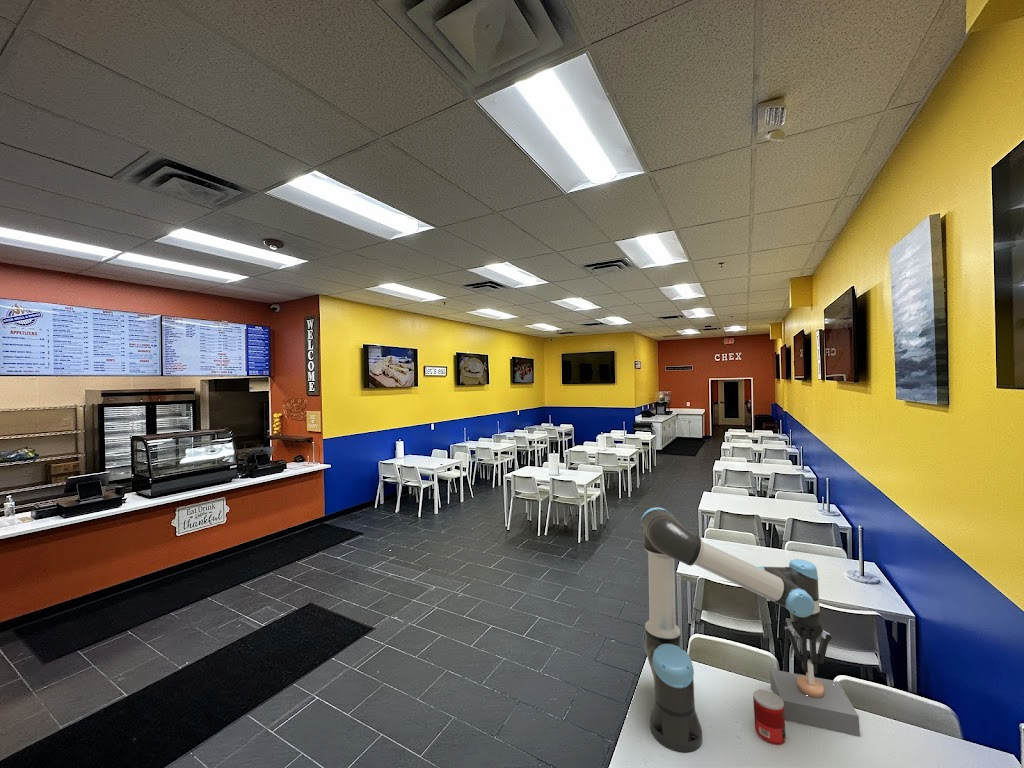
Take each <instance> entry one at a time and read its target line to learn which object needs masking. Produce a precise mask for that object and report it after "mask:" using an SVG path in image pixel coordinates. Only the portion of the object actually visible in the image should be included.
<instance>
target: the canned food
mask: <svg viewBox="0 0 1024 768" xmlns="http://www.w3.org/2000/svg"><path fill="white" fill-rule="evenodd" d="M752 695H753V696H752V697H753V715H754V717H753V719H754V728H755V732H756V734H757V736H758V737H759V738H760V739H762V740H763V741H765V742H766V743H769V744H771V745H776V746H777V745H779V746H780V745H783V744H784V743H785V742H786V735H787V734H786V720H785V715H784V703H783V700H782V699H781V698H780V697H779V696H778V695H776V694H775V693H773V691H770V690H767V689H757V690H755V691H754V692H753V694H752Z"/></svg>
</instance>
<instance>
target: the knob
mask: <svg viewBox="0 0 1024 768" xmlns="http://www.w3.org/2000/svg"><path fill="white" fill-rule="evenodd" d="M801 675H802V676H799V677H798V678H797V683H798V688H799V690H800V691H801V692H803V693H804V694H806V695H808V696H811V697H814V698H821V697H823V696H824V687H823V684H822V683H821V682H820V681H818V680H817V679H815V678H814V685H811V684H809V683H808V681H807V678H806V675H805V676H804V674H801Z"/></svg>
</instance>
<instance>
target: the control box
mask: <svg viewBox="0 0 1024 768" xmlns="http://www.w3.org/2000/svg"><path fill="white" fill-rule="evenodd" d="M802 675H804V674H800V673H794V672H788V671H782V670H777V669H772V668H770V669H769V677H770V687H771V692H773V693H775V694H776V695H778V696H779V697H780V698H781V699H782V700H783V703H784V715H785V722H791V723H796V724H800V725H805V726H810V727H815V728H819V729H823V730H827V731H833V732H838V733H843V734H847V735H852V736H854V737H855V736H856V737H861V734H860V733H861V731H860V716H859V715H858V713H857V711H856V709H855V708H854V705H853V704H852V702H851V700H850V699H849V697H848V696H847V694H846V692H845V690H844V689H843V687H842V685H841V683H840V682H839V680H838V681H837V680H832V679H827V678H826V679H825V678H821V677H817V676H814V678H815V679H817V680H818V681H820V682H821V683H822V684H823V687H824V696H823V697H821V698H814V697H811V696H806V694H804V693H803V692H801V691H800V690H799V688H798V683H797V678H798V677H799V676H802ZM804 676H806V674H805V675H804ZM834 681H835V682H834ZM833 684H834V685H833Z"/></svg>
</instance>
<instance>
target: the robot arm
mask: <svg viewBox="0 0 1024 768" xmlns="http://www.w3.org/2000/svg"><path fill="white" fill-rule="evenodd" d="M640 527H641V530H642V531H643V533H642V534H643V536H642V537H643V549H644V550H645V551H646V552H647V554H648V555H647V556H648V557H647V559H648V560H647V563H648V566H647V567H648V608H649V609H648V610H649V611H648V612H649V613H648V615H649V616H648V617H649V619H648V620H647V621H646V622H645V623H644V632H643V635H642V646H643V649H644V652H645V655H646V657H647V660H648V661H647V662H648V663H649V666H650V667H649V668H650V670H651V674H652V676H653V687H654V703H653V707H652V710H651V712H650V716H649V717H650V718H649V721H650V722H649V726H650V731H651V734H652V735H653V736H654V738H655V739H656V740H657V741H658V742H659V743H660V744H662V745H663V746H664V747H666V748H668V749H670V750H672V751H677V752H679V753H688V752H689V753H690V752H694V751H696V750H697V749H699V748H700V747H701V746H702V744H703V729H702V725H701V723H700V719H699V717H698V714H697V711H696V708H695V707H696V705H695V702H696V701H695V683H694V674H695V672H694V665H693V662H692V659H691V656H690V655H689V654H688V653H687V651H686V650H685V649H682V645H681V644H682V643H681V642H682V641H681V640H682V639H681V628H680V627H679V626H678V625H677V624H676V589H675V587H676V585H675V584H676V583H675V581H676V579H675V577H676V576H675V575H676V574H675V560H676V561H678V562H681V563H683V564H685V565H686V566H689V567H692V566H694V565H695V566H697V567H699V568H701V569H704V570H706V571H708V572H709V573H712V574H714V575H715V576H718V577H720V578H722V579H724V580H727V581H729V582H731V583H733V584H735V585H737V586H740V587H741V588H744V589H745V590H747V591H750V592H752V593H754V594H756V595H759V596H761V597H763V598H765V599H767V600H769V601H770V602H771V601H772V602H773V603H775V604H777V605H780V606H781V607H784V608H785V609H786V610H788V612H790V613H791V614H792V621H791V624H790V625H784V626H783V629H784V630H785V632H786V633H787V635H788V637H789V640H790V643H791V647H792V649H793V653H794V656H795V657H796V659H797V660H798V661H801V667H802V670H803V672H804V673H805V676H806V678H807V681H808V683H809V684H811V685H814V677H815V675H817V674H818V666H819V664H824V663H825V659H826V655H827V649H828V645H829V642H830V641H831V640H832V638H833V637H832V636H831V634H830V633H829V631H825V630H824V629H823V628H822V624H821V613H820V610H821V609H820V608H821V607H820V597H819V596H820V594H819V593H820V592H819V577H818V576H819V575H818V570H817V566H816V565H815V564H814V563H812V562H811V561H808V560H804V559H799V558H793V559H791V560H790V561H789V563H788V566H782V567H781V566H764V565H763V566H757V565H754V564H753V563H750V562H747V561H745V560H743V559H741V558H738V557H736V556H735V555H733V554H731V553H728V552H727V551H726V552H725V551H724V550H722V549H719V548H717V547H715V546H713V545H711V544H709V543H707V542H704V541H703V540H702V538H701V536H698V535H696V534H695V533H693V532H691V531H690V530H688V529H687V528H685V527H684V525H682V524H681V523H680V521H678V520H677V519H676V518H675V516H674V514H672V512H671V511H668V510H667V509H665V508H663V507H651V508H649V509H647V510H646V511H645V512H644V513H643V514H642V516H641V518H640ZM794 631H795V632H796V633H797V635H798V636H799V640H800V641H799V642H800V644H799V645H800V651H799V647H798V643H797V642H796V638H795V636H794V633H795V632H794ZM820 636H821V637H820ZM819 637H820V641H819V646H818V649H817V639H818V638H819ZM808 642H809V643H808ZM807 644H809V654H810V655H809V656H810V658H809V659H808V645H807Z"/></svg>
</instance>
